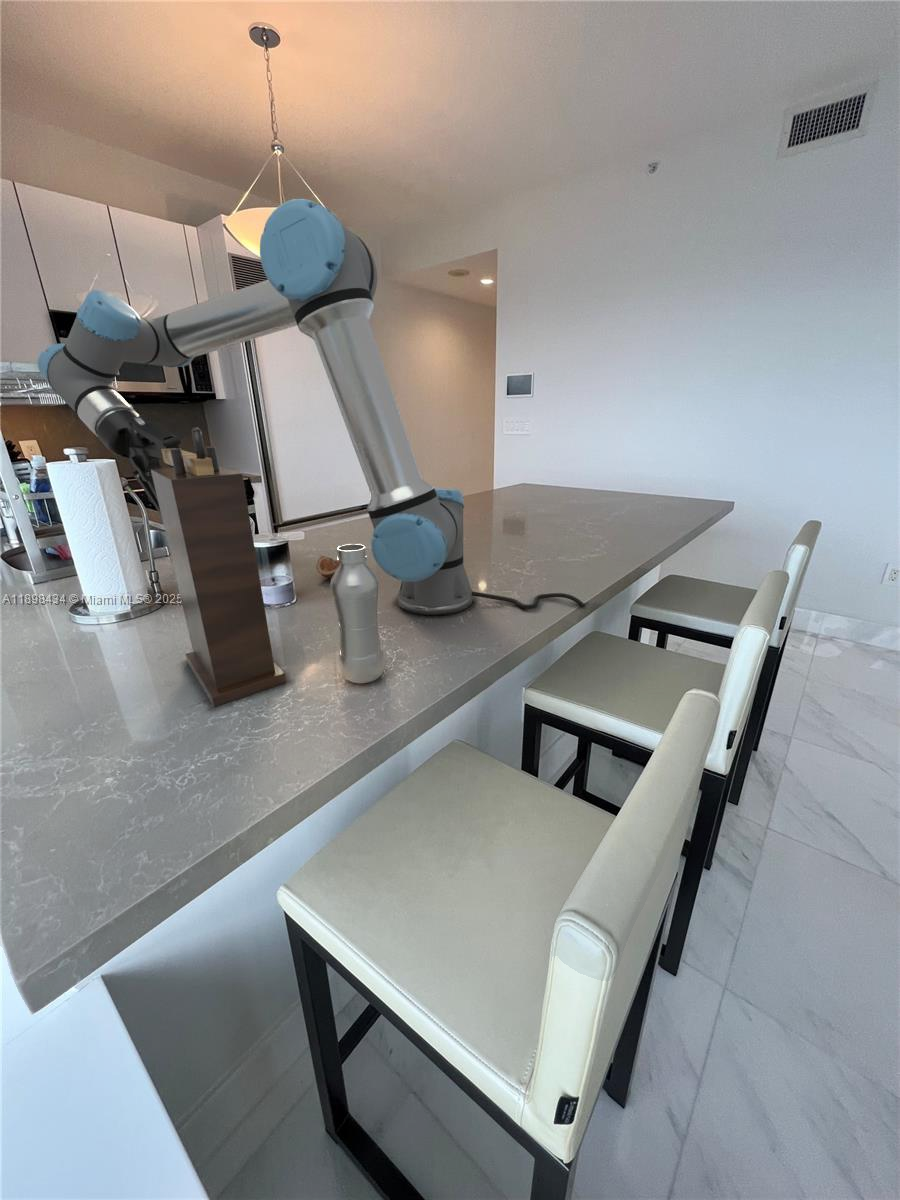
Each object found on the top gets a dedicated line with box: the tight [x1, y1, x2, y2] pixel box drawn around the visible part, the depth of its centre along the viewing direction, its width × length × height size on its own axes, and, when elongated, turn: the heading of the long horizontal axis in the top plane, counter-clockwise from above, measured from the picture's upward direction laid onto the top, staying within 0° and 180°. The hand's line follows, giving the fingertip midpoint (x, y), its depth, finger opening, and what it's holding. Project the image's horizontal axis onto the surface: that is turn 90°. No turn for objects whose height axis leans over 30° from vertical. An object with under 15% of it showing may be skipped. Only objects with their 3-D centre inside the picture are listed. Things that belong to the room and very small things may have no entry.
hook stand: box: [151, 446, 287, 708], centre depth 69 cm, size 16×10×33 cm, turn 38°
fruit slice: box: [315, 555, 340, 580], centre depth 114 cm, size 8×7×5 cm
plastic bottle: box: [329, 543, 386, 684], centre depth 69 cm, size 6×7×20 cm
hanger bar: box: [161, 427, 214, 476], centre depth 66 cm, size 21×2×6 cm, turn 38°
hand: (201, 515), depth 82 cm, fingers open, 13 cm apart
